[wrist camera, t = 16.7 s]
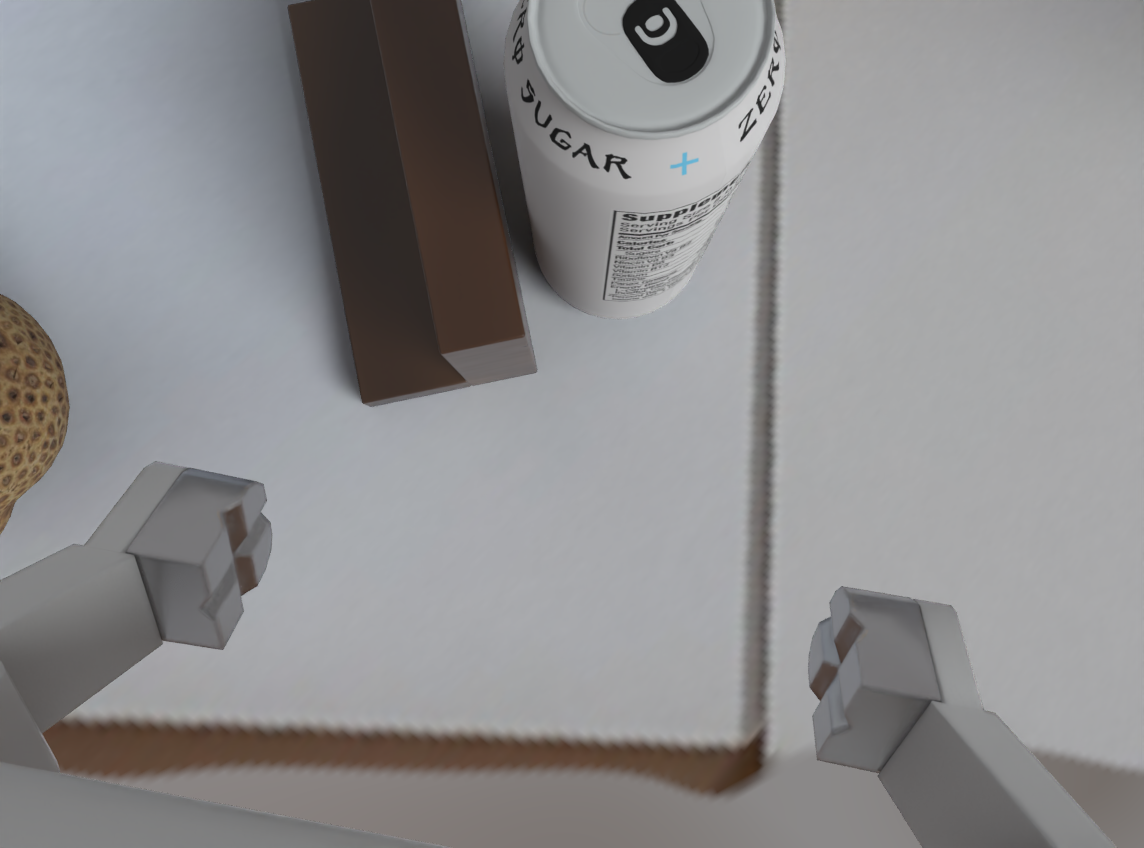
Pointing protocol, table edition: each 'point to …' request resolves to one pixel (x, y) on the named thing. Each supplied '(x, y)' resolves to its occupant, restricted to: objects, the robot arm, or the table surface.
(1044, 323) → the table surface
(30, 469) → the natural sponge
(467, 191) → the walnut wall
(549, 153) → the energy drink can
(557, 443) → the table surface
